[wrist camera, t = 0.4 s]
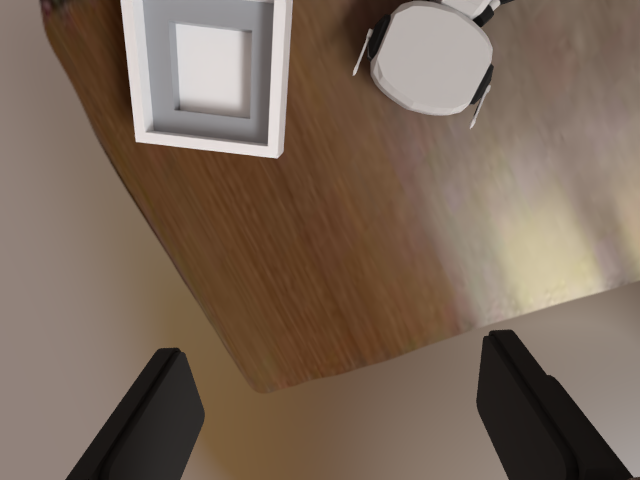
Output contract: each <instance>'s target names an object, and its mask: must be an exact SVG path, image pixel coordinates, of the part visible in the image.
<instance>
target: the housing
mask: <svg viewBox="0 0 640 480" xmlns="http://www.w3.org/2000/svg"><path fill="white" fill-rule="evenodd" d="M292 5H293V0H121V9H122V18H123V27H124V36H125V45H126V55H127V64H128V73H129V82H130V91H131V101H132V110H133V119H134V128H135V137H136V142H143V143H151V144H160V145H168V146H177V147H185V148H194V149H202V150H211V151H219V152H228V153H236V154H245V155H254V156H262V157H271V158H278V157H279V156H280V155H281V154H282V153H283V149H284V133H285V117H286V101H287V85H288V69H289V53H290V37H291V21H292Z"/></svg>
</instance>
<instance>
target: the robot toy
mask: <svg viewBox="0 0 640 480" xmlns="http://www.w3.org/2000/svg"><path fill="white" fill-rule="evenodd" d="M511 1H513V0H492V1H491V0H430V2H428V1H411V2H408V3H404V4H401V5H400V6H399V7H398V8H397V9H396V10H395V11H394V12H393V13H392V14H391V15H384V16H383V18H382V19H381V20H380V21H379V22H378V23H377V24H376V25H375V27H374V30H372V29H369V31H368V34H367V36H366V42H365V44H364V47H363V49H362V52H361V54H360V57H359V60H358V62H357V65H356V66H355V69H354V71H353V76H354V75H355V74H356V72H357V69H358V66H359V63H360V61H361V58H362V55H363V53H364V50H365V48H366V45H367V43H368V45H367V59H368V60H369V61H370V62H371V77H372V78H373V80H374V82H375V84H376V86H377V87H378V88H379V89H380V90H381V91H382V92H383V93H384V94H385V95H386V96H387V97H389V98H390V99H392V100H393V101H395V102H396V103H398V104H399V105H401V106H402V107H403V108H405V109H408V110H411V111H415V112H419V113H423V114H428V115H450V114H455V113H459V112H461V111H462V110H463V109H464V108H466V107H467V106H468V105H473V104H475V103H476V102H477V101H478V100H479V99H480V98H481V99H480V102H479V104H478V106H477V109H476V111H475V114H474V116H473V119H472V120H471V122H470V124H469V128H470V129H471V128H472V127H473V126H474V124H475V121H476V117H477V115H478V112H479V110H480V108H481V105H482V103H483V100H484V98H485V95H486V93H488V92H489V90H490V87H491V86H490V85H489V83H490V81H491V77H492V72H493V65H492V64H491V59H492V51H493V48H492V46H491V43H490V41H489V38H488V37H487V35H486V34H485V33H484V31H483V30H482V29H481V28H480V27H482V26H483V25H484V24H486V23H487V22H488V21H489V20H490V19H491V18H492V17H493V15H494V12H493V11H494V10H495V9H496V8H497V7H498V6H499V5H502V4H505V3H508V2H511ZM472 20H473V21H472ZM368 40H369V42H368Z"/></svg>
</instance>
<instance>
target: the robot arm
mask: <svg viewBox="0 0 640 480" xmlns="http://www.w3.org/2000/svg"><path fill="white" fill-rule="evenodd" d="M476 403H477V409H478V412H479V415H480V417H481V419H482V421H483V423H484V426H485V428H486V430H487V432H488V434H489V437H490V439H491V441H492V443H493V446H494V448H495V450H496V452H497V454H498V456H499V459H500V461H501V463H502V465H503V468H504V470H505V472H506V474H507V476H508V479H509V480H640V477H633V476H632V475H631V473H630V472H629V471H628V470H627V468H626V467H625V466H624V465H623V463H622V462H621V461H620V459H619V458H618V457H617V456H616V454H615V453H614V452H613V451H612V449H611V448H610V447H609V445H608V444H607V443H606V441H605V440H604V439H603V438H602V436H601V435H600V434H599V433H598V431H597V430H596V429H595V427H594V426H593V425H592V424H591V422H590V421H589V420H588V418H587V417H586V416H585V415H584V413H583V412H582V411H581V410H580V408H579V407H578V406H577V404H576V403H575V402H574V401H573V400H572V398H571V397H570V396H569V394H568V393H567V392H566V390H565V389H564V388H563V387H562V385H561V384H560V383H559V382H558V381H557V380H556V379H555V378H554V377H552V376H551V375H546V373H545V372H544V371H543V369H542V368H541V366H540V365H539V364H538V363H537V361H536V360H535V359H534V357H533V356H532V355H531V353H530V352H529V351H528V350H527V348H526V347H525V345H524V344H523V343H522V342H521V340H520V339H519V338H518V336H517V335H516V334H515V333H514V331H512V330H495V331H494V330H493V331H490V332H489V336H484V338H483V345H482V353H481V363H480V372H479V381H478V390H477V400H476ZM204 417H205V413H204V408H203V405H202V403H201V399H200V396H199V394H198V391H197V388H196V385H195V382H194V378H193V376H192V373H191V369H190V367H189V364H188V361H187V358H186V355H185V353H184V352H181V351H180V349H179V348H161V349H158V350H157V351H156V352H155V354H154V355H153V356H152V358H151V359H150V361H149V362H148V364H147V365H146V367H145V368H144V369H143V371H142V372H141V373H140V375H139V376H138V378H137V379H136V381H135V382H134V383H133V385H132V386H131V388H130V389H129V391H128V392H127V393H126V395H125V396H124V397H123V399H122V400H121V402H120V403H119V405H118V406H117V407H116V409H115V410H114V412H113V413H112V414H111V416H110V417H109V419H108V420H107V422H106V423H105V424H104V426H103V427H102V429H101V430H100V431H99V433H98V434H97V436H96V437H95V438H94V440H93V441H92V443H91V444H90V446H89V447H88V449H87V450H86V451H85V453H84V454H83V456H82V457H81V458H80V460H79V461H78V463H77V464H76V465H75V467H74V468H73V470H72V471H71V472H70V474H69V475H68V477H67V478H66V479H65V480H180V479H181V477H182V474H183V472H184V469H185V467H186V464H187V462H188V459H189V457H190V454H191V452H192V449H193V447H194V444H195V442H196V440H197V437H198V434H199V432H200V430H201V427H202V425H203V422H204Z"/></svg>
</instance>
